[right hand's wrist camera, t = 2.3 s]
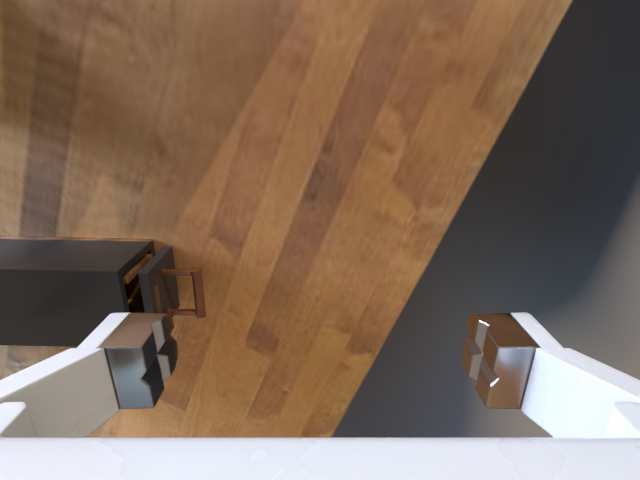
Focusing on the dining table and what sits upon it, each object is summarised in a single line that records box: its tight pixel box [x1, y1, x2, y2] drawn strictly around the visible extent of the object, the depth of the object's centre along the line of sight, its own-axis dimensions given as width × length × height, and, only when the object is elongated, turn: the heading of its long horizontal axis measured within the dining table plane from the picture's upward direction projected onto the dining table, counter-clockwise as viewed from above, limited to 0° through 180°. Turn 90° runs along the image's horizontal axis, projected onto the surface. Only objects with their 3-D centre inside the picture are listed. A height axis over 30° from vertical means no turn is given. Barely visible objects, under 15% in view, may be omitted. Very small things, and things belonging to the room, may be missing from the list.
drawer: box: [123, 247, 206, 318], centre depth 49 cm, size 26×10×8 cm, turn 88°
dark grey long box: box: [0, 236, 155, 346], centre depth 49 cm, size 22×11×10 cm, turn 88°
